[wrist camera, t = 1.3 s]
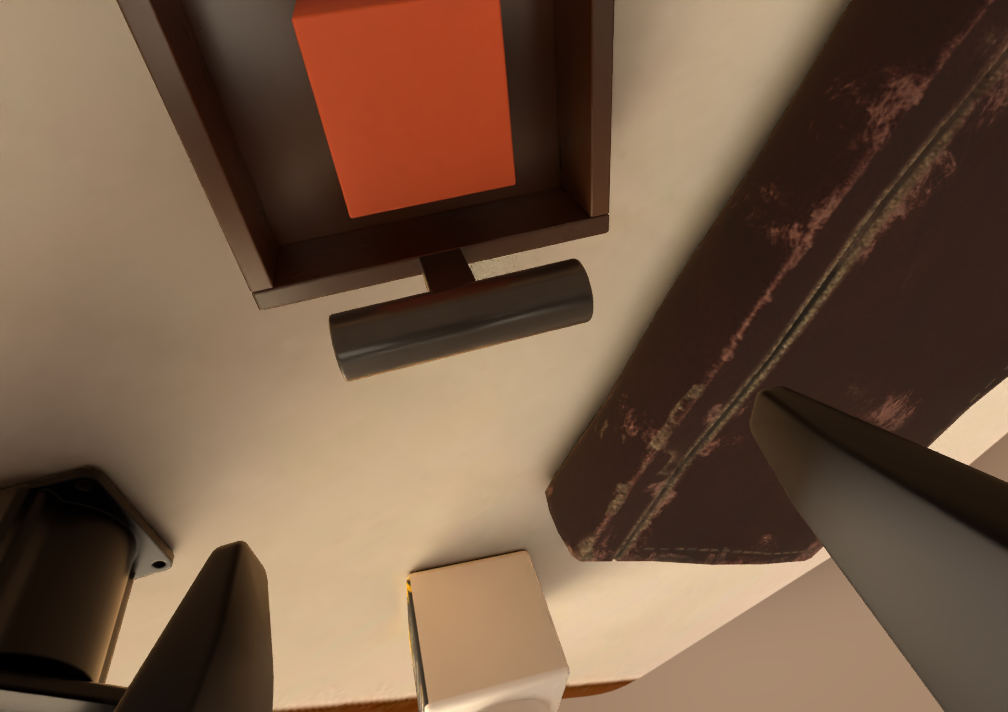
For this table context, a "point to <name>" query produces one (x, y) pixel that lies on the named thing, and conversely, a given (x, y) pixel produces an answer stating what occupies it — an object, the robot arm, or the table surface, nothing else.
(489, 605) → the medicine bottle
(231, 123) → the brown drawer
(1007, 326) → the diary
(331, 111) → the cube
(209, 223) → the table surface
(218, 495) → the table surface
